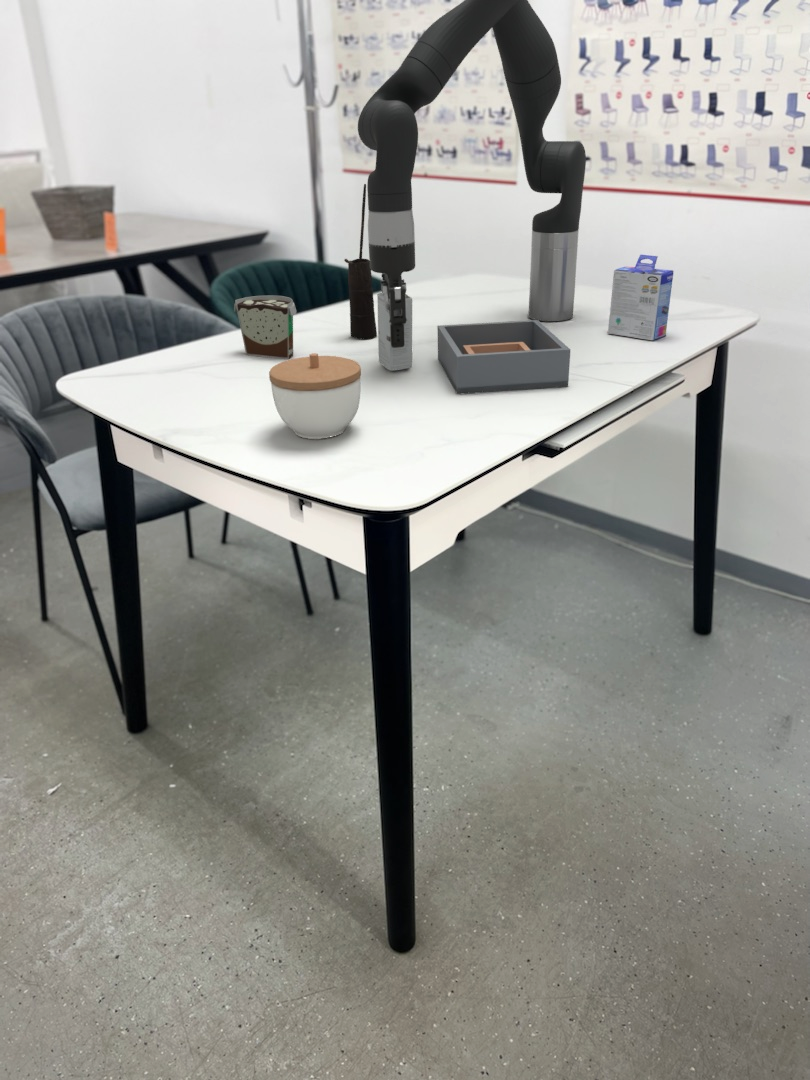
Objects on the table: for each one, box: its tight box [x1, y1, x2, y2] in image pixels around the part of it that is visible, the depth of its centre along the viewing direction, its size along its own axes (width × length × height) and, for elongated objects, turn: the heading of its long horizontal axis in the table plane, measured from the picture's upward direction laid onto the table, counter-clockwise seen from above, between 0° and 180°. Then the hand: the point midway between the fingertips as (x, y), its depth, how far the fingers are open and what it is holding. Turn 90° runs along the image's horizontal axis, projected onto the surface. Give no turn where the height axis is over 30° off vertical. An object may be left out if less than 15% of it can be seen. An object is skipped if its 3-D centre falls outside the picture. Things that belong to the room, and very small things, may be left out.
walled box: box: [436, 319, 571, 395], centre depth 139 cm, size 20×18×6 cm
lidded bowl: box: [268, 352, 362, 440], centre depth 116 cm, size 13×13×11 cm
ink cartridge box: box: [607, 254, 674, 341], centre depth 155 cm, size 10×6×14 cm, turn 49°
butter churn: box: [343, 183, 378, 340], centre depth 157 cm, size 9×10×28 cm
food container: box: [233, 295, 298, 360], centre depth 153 cm, size 12×6×10 cm, turn 65°
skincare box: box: [376, 292, 413, 372], centre depth 141 cm, size 6×4×12 cm
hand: (395, 340), depth 142 cm, fingers closed on skincare box, 6 cm apart
